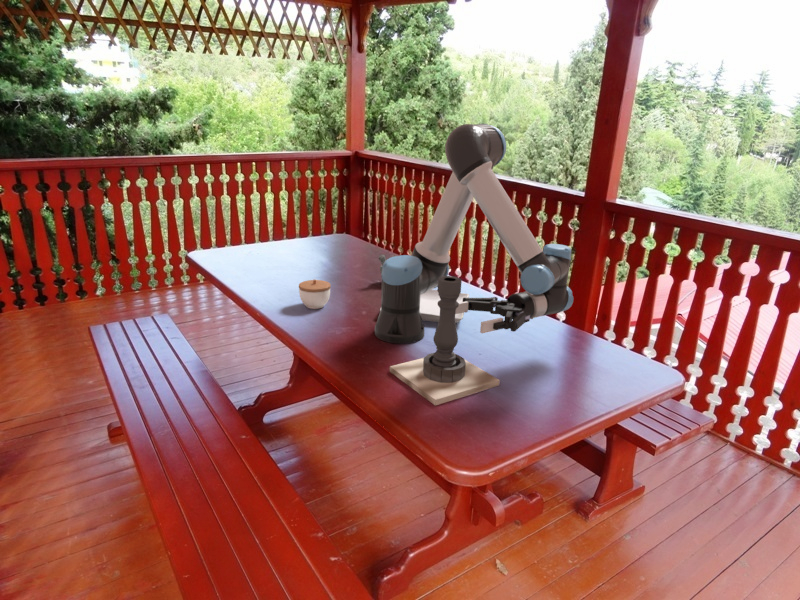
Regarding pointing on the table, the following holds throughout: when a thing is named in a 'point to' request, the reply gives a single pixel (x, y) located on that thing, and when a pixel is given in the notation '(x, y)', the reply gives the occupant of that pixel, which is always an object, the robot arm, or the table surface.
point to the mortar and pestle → (382, 261)
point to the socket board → (443, 388)
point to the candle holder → (447, 322)
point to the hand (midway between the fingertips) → (463, 318)
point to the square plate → (435, 306)
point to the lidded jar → (314, 293)
